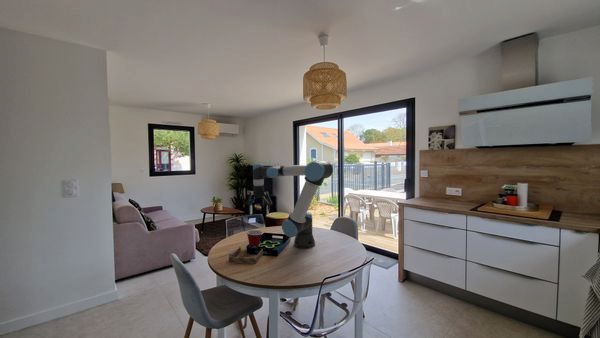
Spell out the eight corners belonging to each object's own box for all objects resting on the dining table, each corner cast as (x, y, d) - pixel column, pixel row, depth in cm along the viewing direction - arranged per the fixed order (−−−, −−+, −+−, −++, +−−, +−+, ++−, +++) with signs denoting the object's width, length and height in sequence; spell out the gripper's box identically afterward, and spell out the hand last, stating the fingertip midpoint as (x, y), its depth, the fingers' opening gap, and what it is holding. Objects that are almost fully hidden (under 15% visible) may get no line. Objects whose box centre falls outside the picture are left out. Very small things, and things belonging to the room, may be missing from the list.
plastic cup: (263, 250, 166) (263, 233, 166) (247, 252, 163) (247, 234, 162) (261, 245, 177) (261, 228, 176) (246, 246, 174) (245, 230, 173)
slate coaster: (237, 252, 164) (237, 251, 164) (236, 254, 160) (236, 253, 160) (231, 252, 164) (230, 251, 164) (229, 255, 159) (229, 254, 159)
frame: (263, 252, 162) (263, 248, 162) (255, 263, 146) (255, 258, 146) (239, 251, 165) (239, 247, 165) (229, 261, 149) (228, 257, 149)
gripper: (276, 184, 181) (276, 213, 182) (244, 184, 185) (245, 212, 186) (273, 185, 174) (274, 215, 175) (240, 185, 177) (241, 215, 178)
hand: (259, 214), depth 180 cm, fingers open, 12 cm apart
